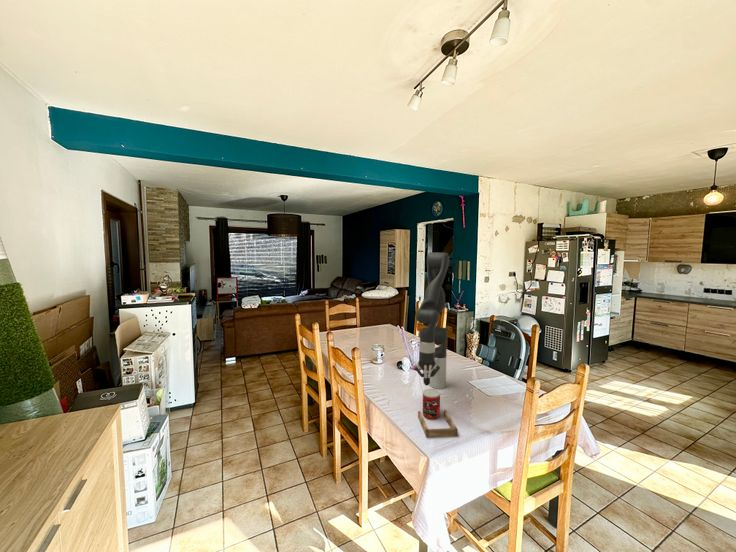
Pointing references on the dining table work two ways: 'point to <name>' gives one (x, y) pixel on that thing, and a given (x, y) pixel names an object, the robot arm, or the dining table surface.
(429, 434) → the corral
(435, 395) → the canned food
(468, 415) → the dining table surface
